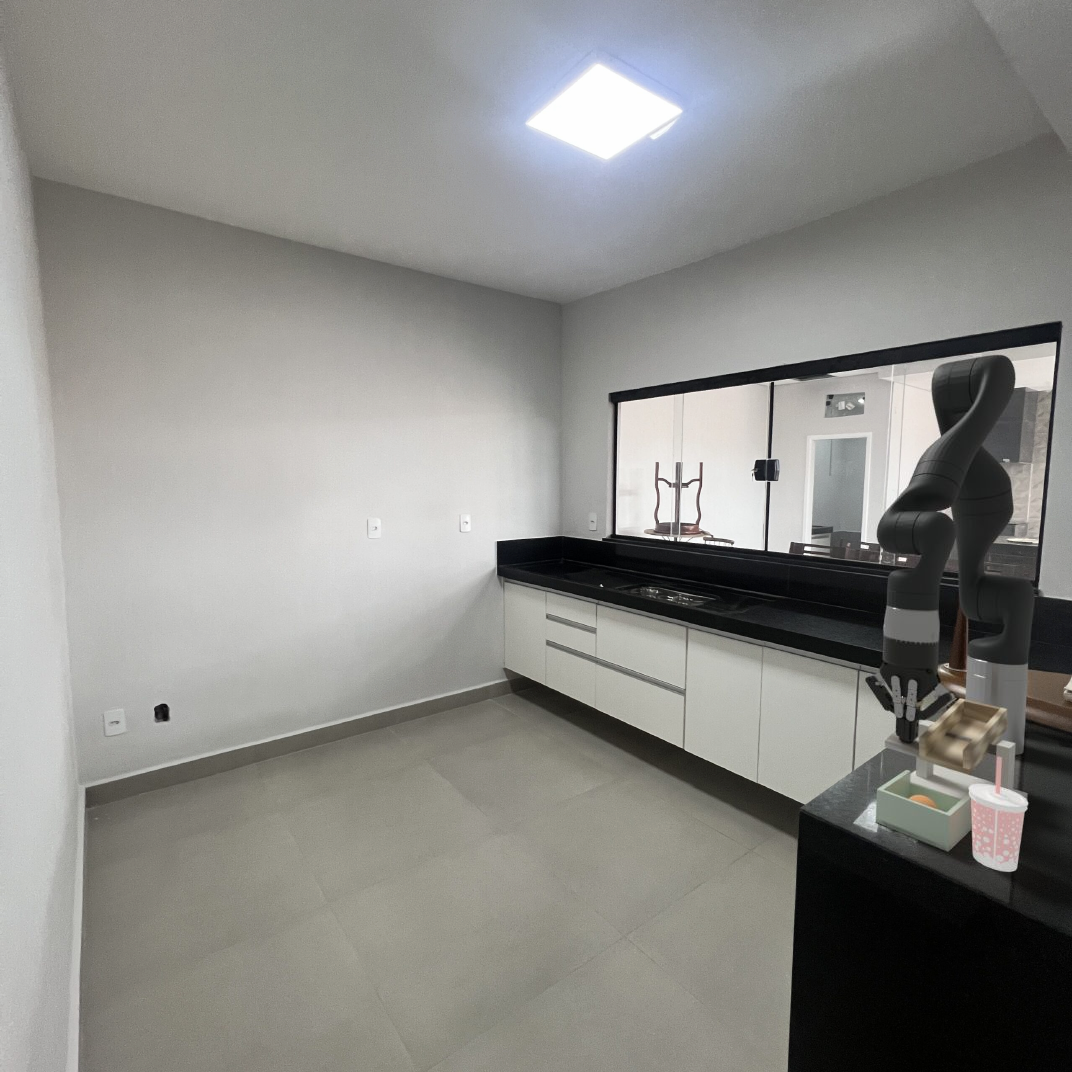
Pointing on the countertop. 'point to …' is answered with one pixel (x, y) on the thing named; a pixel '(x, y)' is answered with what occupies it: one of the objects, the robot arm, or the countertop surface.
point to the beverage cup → (996, 824)
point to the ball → (923, 800)
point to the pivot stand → (958, 781)
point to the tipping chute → (957, 736)
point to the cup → (923, 812)
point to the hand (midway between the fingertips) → (906, 740)
